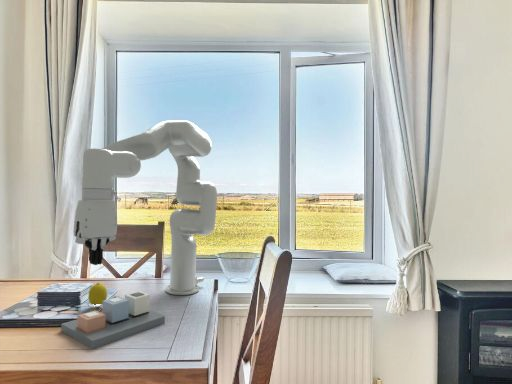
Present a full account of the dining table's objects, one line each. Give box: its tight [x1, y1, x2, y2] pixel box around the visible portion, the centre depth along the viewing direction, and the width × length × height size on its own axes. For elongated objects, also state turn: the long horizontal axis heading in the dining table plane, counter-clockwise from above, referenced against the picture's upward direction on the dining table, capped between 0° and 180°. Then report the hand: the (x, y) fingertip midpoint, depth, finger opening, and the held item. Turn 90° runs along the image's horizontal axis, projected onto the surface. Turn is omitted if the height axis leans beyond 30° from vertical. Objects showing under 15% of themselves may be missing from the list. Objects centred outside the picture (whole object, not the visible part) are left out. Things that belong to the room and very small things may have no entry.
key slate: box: [101, 296, 129, 324], centre depth 99 cm, size 5×5×5 cm
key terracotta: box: [77, 309, 106, 333], centre depth 94 cm, size 5×5×5 cm
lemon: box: [87, 282, 108, 306], centre depth 114 cm, size 6×6×8 cm
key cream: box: [124, 291, 150, 317], centre depth 105 cm, size 5×5×5 cm
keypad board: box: [60, 309, 166, 350], centre depth 99 cm, size 22×16×2 cm
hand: (95, 263), depth 94 cm, fingers closed
